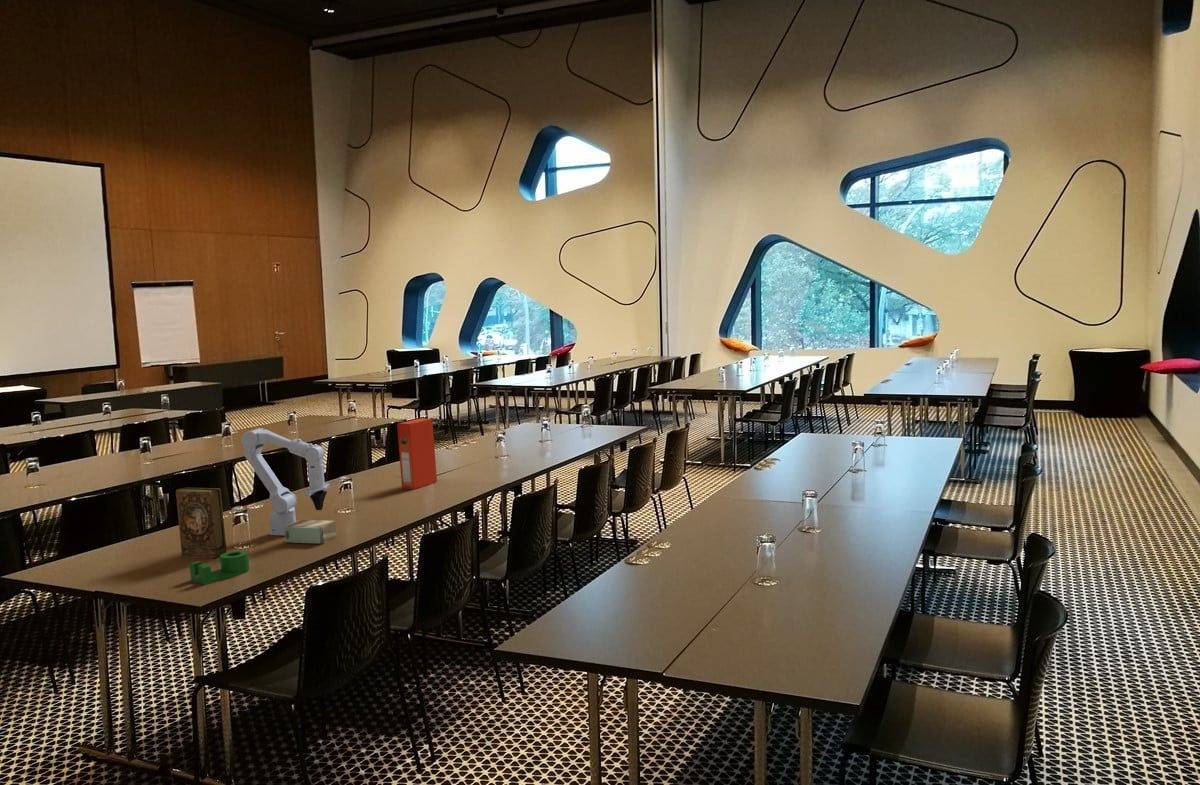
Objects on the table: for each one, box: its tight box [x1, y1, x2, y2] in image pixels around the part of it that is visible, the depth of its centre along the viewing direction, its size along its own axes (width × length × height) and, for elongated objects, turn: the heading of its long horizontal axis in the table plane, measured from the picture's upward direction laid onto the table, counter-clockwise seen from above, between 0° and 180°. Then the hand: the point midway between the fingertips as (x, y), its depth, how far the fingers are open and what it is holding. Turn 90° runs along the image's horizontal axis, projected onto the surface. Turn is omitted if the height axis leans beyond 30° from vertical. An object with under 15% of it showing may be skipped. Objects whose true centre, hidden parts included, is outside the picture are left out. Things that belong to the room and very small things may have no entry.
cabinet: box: [287, 519, 337, 545], centre depth 343 cm, size 16×9×6 cm, turn 75°
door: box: [285, 526, 323, 544], centre depth 338 cm, size 16×2×6 cm, turn 75°
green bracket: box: [189, 549, 251, 586], centre depth 303 cm, size 18×9×6 cm, turn 142°
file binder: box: [396, 418, 438, 490], centre depth 434 cm, size 8×17×32 cm, turn 152°
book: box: [175, 487, 227, 559], centre depth 327 cm, size 16×6×25 cm, turn 74°
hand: (319, 509), depth 352 cm, fingers closed
